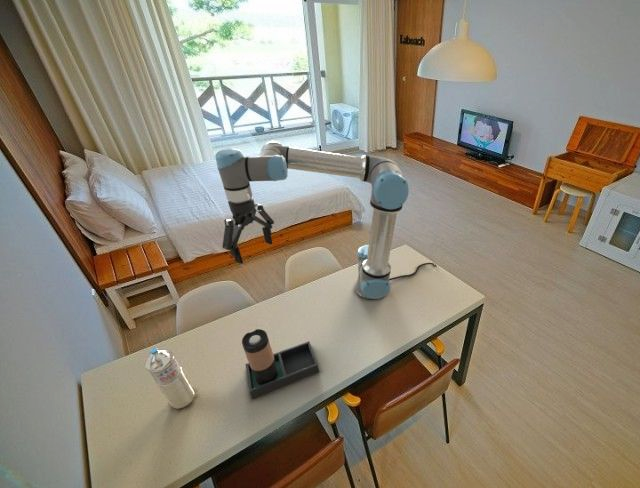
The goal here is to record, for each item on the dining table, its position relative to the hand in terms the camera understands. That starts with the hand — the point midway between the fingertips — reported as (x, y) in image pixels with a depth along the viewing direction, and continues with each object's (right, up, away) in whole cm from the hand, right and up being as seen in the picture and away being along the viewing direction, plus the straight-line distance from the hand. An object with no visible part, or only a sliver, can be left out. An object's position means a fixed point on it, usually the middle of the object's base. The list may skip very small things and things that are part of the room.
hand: (255, 252), depth 114 cm
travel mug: (+6, -43, -3) cm, 44 cm away
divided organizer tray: (+11, -43, -1) cm, 44 cm away
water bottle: (-19, -48, -10) cm, 53 cm away
